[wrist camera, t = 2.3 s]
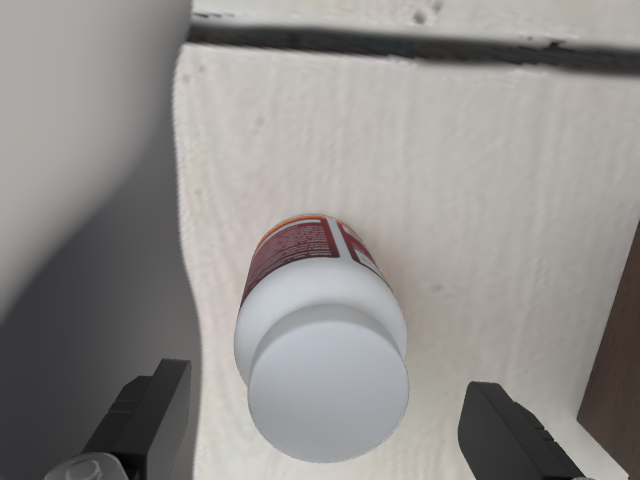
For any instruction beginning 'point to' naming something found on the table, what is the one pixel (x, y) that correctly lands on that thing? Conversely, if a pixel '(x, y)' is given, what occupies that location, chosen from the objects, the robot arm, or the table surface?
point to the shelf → (618, 376)
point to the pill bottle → (320, 343)
